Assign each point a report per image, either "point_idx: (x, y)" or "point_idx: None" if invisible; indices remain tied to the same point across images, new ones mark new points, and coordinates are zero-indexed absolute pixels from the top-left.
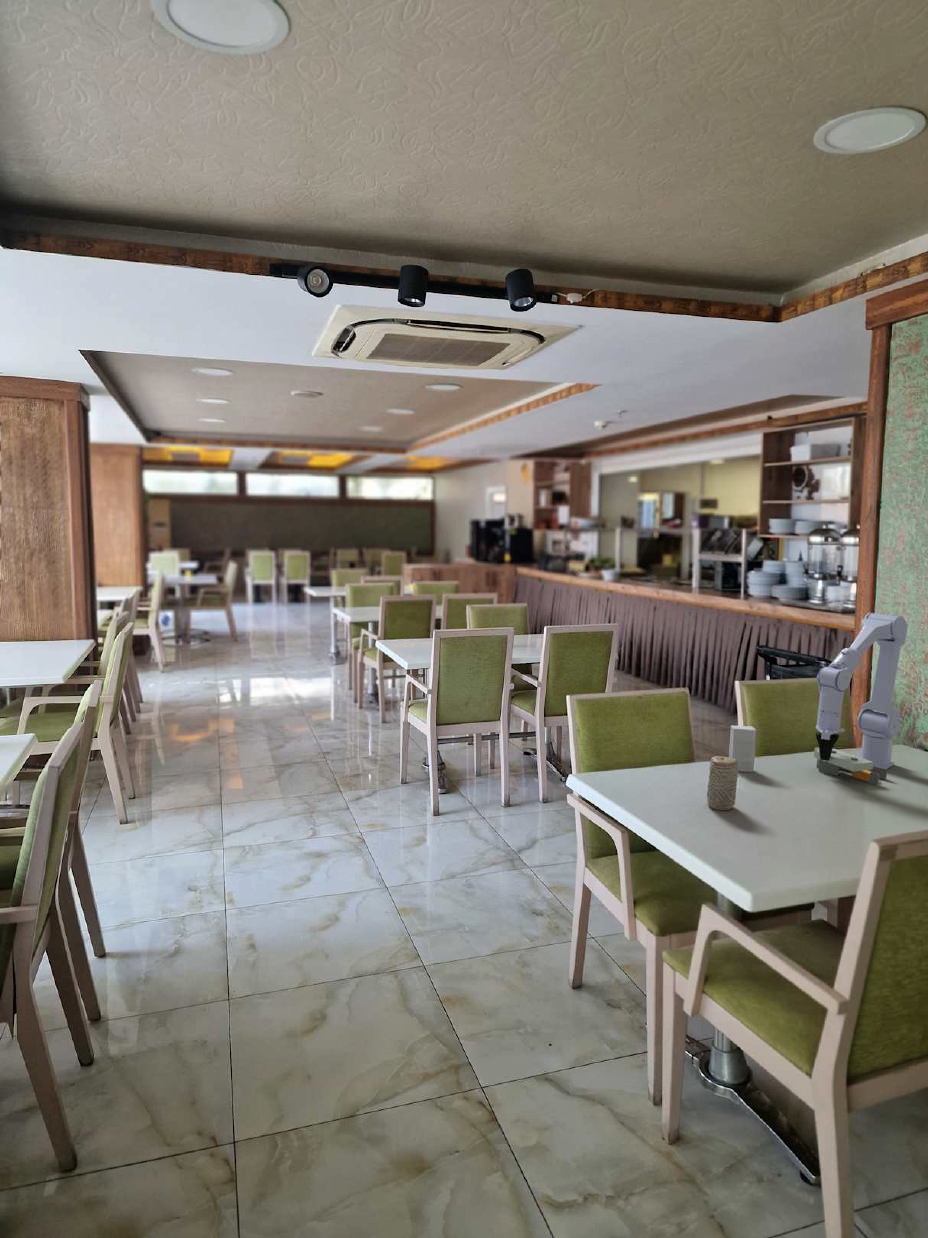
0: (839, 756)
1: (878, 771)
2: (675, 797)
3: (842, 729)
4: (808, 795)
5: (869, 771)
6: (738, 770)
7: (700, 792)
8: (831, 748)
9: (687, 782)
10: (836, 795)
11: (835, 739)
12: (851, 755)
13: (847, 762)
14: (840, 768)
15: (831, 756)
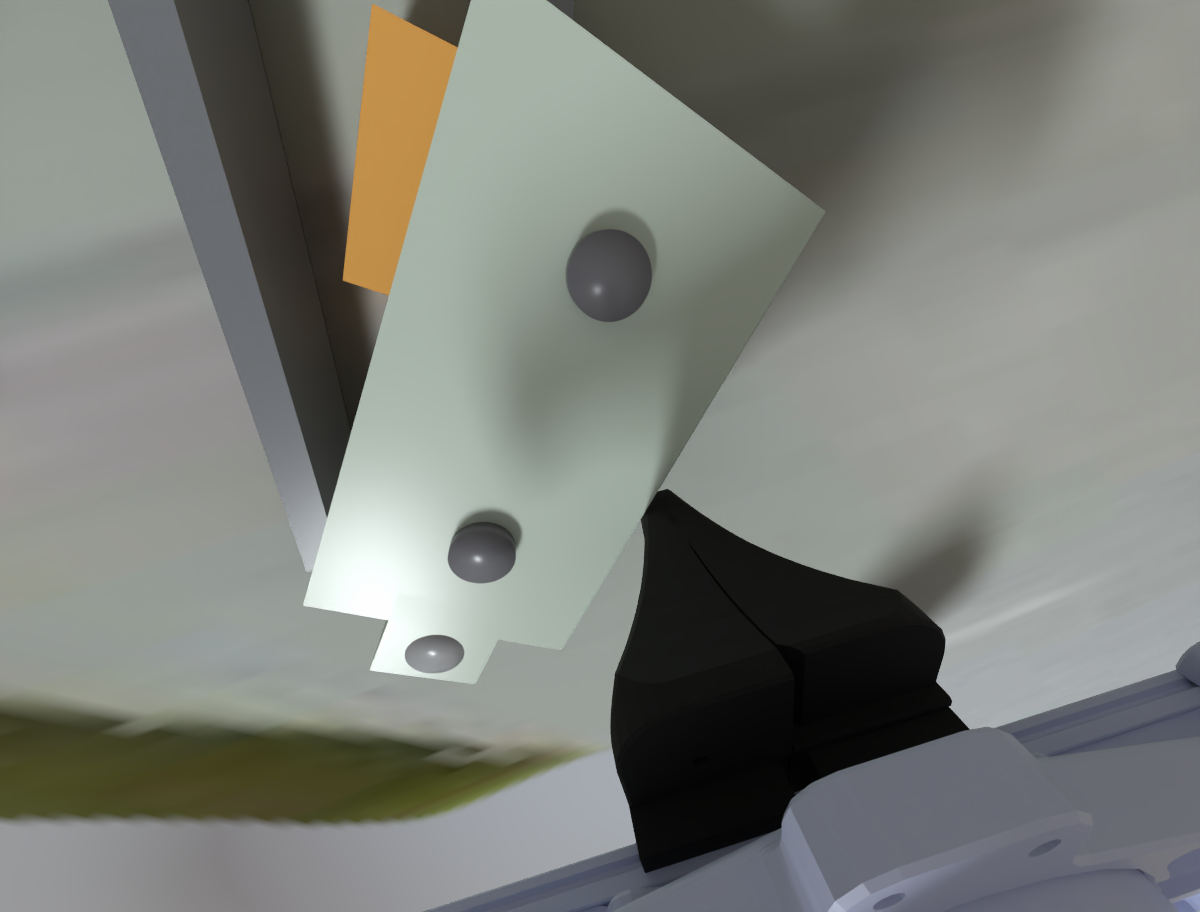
0: (594, 451)
1: (204, 7)
2: (1193, 633)
3: (998, 870)
4: (1071, 367)
5: (381, 114)
6: None
7: (1133, 624)
8: (760, 553)
9: (1041, 685)
10: (1023, 239)
11: (930, 624)
12: (406, 374)
13: (762, 311)
14: (346, 433)
15: (648, 502)
